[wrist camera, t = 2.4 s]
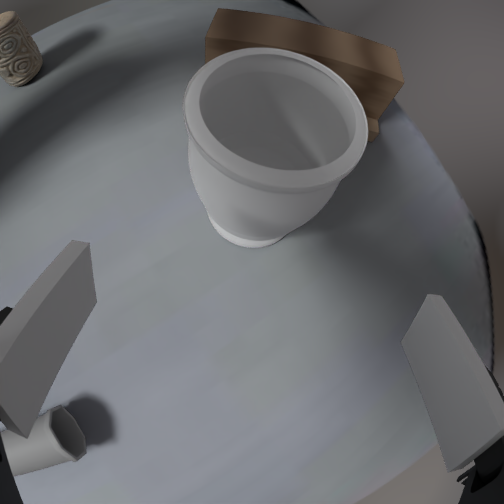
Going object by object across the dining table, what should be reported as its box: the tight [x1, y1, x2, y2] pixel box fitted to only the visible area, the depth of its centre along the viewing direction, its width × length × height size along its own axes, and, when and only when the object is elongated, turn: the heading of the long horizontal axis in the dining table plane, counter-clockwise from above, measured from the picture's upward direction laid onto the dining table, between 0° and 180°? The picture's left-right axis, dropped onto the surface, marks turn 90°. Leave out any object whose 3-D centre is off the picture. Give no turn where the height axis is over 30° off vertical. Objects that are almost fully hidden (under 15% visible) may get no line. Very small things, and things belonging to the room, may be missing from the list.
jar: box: [183, 48, 368, 248], centre depth 23 cm, size 11×10×15 cm
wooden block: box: [205, 8, 404, 142], centre depth 30 cm, size 20×10×9 cm, turn 83°
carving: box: [0, 11, 43, 87], centre depth 26 cm, size 6×8×12 cm
